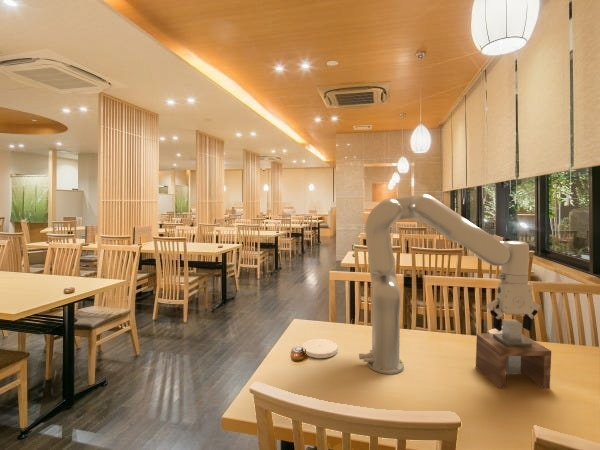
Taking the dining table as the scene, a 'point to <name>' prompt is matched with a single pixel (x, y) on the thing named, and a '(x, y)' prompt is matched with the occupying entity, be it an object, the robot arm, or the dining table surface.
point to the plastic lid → (320, 348)
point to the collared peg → (512, 343)
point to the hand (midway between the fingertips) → (512, 329)
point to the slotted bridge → (495, 353)
